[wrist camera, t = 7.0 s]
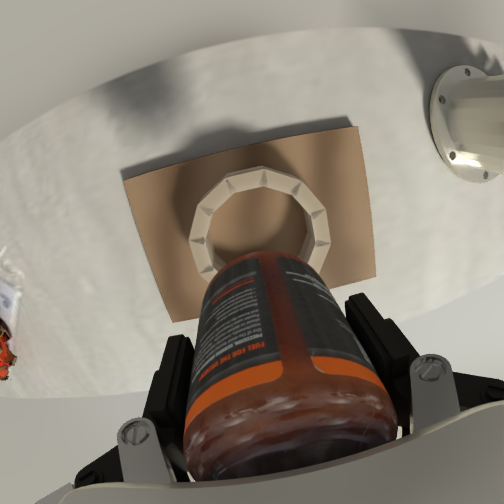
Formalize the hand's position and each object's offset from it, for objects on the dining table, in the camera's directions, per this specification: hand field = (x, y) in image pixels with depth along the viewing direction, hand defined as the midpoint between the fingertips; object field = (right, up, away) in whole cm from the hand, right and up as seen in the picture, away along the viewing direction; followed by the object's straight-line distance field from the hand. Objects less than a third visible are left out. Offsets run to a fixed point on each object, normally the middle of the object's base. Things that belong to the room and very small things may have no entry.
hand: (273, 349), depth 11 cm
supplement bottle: (0, +1, +4) cm, 4 cm away
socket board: (0, +6, +15) cm, 16 cm away
